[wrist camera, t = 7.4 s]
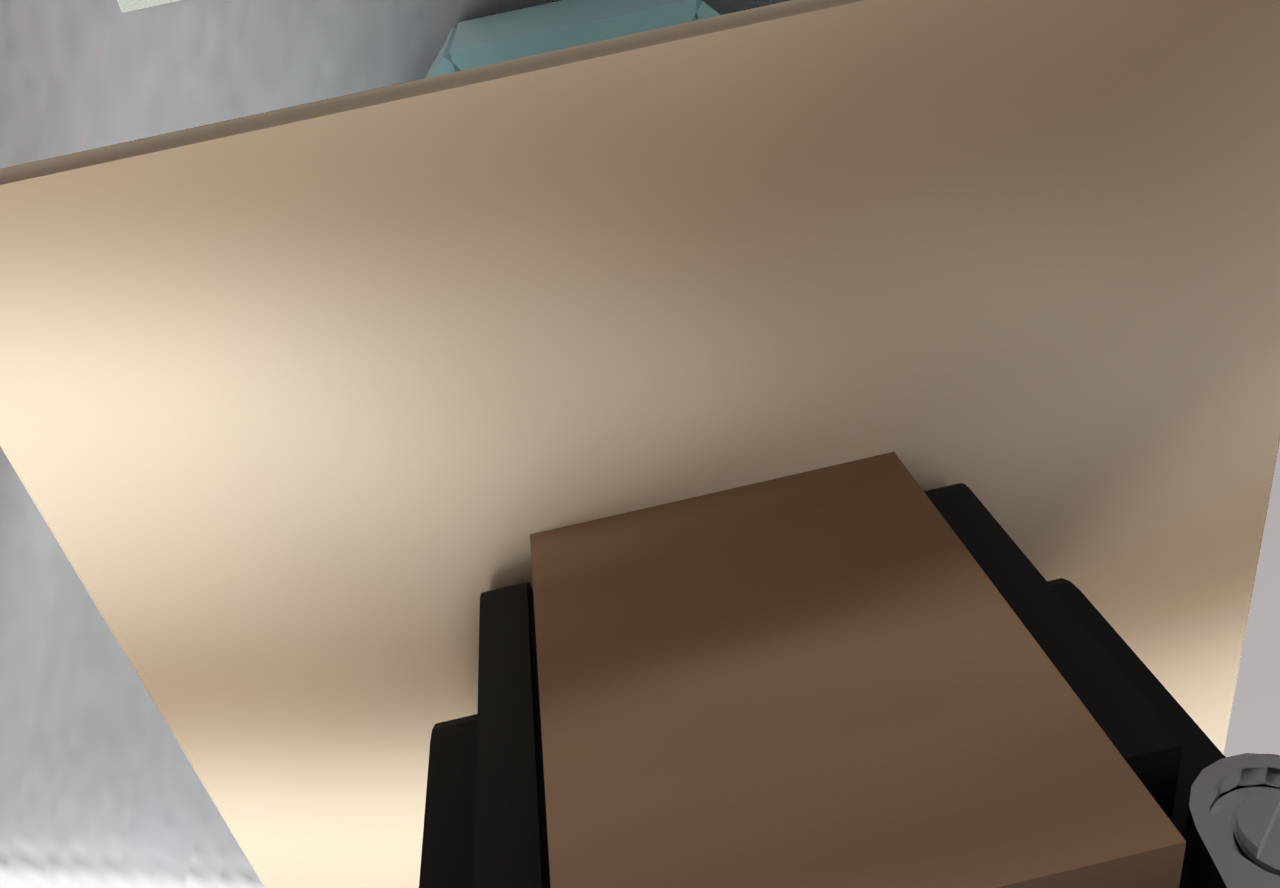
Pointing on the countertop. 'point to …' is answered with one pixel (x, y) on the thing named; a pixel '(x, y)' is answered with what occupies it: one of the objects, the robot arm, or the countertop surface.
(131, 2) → the mat
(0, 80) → the countertop surface
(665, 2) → the bowl
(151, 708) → the countertop surface
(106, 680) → the countertop surface
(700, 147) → the lid
